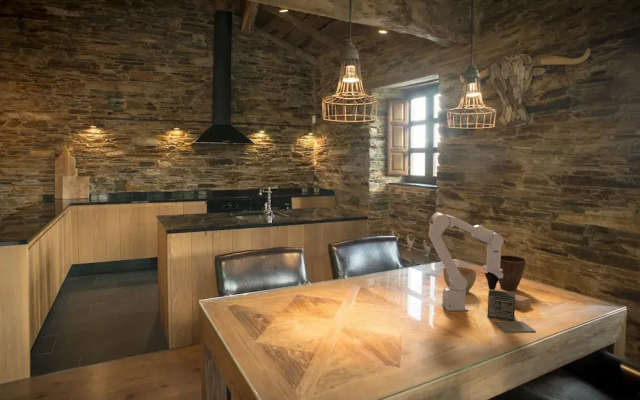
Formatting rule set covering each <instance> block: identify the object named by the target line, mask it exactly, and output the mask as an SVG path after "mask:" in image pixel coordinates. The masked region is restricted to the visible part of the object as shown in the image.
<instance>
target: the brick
mask: <svg viewBox="0 0 640 400" xmlns="http://www.w3.org/2000/svg"><path fill="white" fill-rule="evenodd" d="M494 291H502V292H508V290H504V289H502V288H495V290H494ZM529 308H531V297H528V296H527V297H526V296H524V295H520V294H515V309H518V310H521V311H522V310H525V309H529Z"/></svg>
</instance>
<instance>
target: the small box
mask: <svg viewBox="0 0 640 400" xmlns="http://www.w3.org/2000/svg"><path fill="white" fill-rule="evenodd" d="M515 295H516V293H515V292H509V291H507V292H502V291H494V290H490V289H488V293H487V296H488V297H487V299H488V300H487V316H486V317H487V318H491V319H497V320H505V321H515V309H516V308H515Z"/></svg>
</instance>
